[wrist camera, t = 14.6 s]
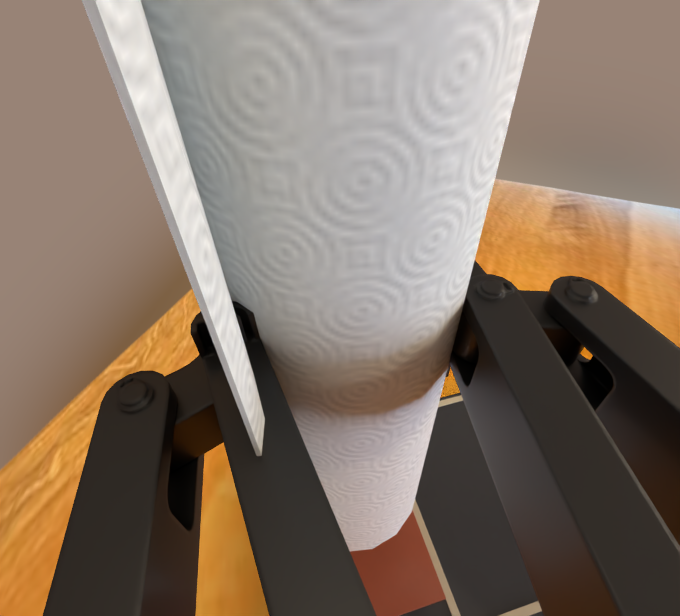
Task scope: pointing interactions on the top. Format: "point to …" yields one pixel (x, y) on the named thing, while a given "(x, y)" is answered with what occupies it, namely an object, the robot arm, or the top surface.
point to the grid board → (451, 537)
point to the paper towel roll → (327, 203)
